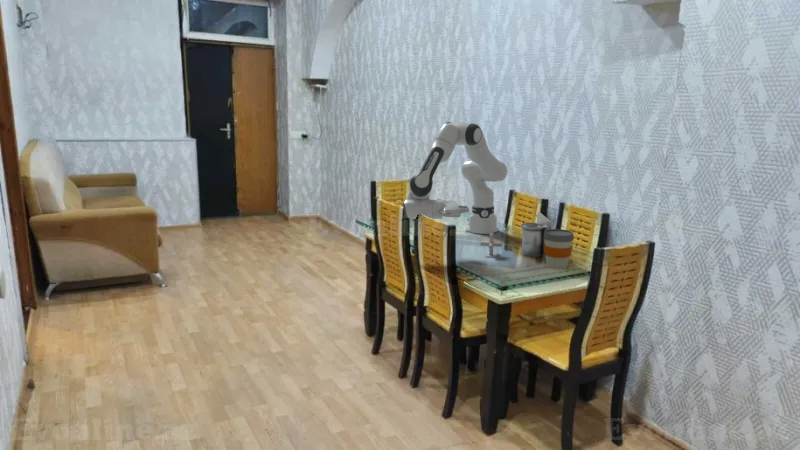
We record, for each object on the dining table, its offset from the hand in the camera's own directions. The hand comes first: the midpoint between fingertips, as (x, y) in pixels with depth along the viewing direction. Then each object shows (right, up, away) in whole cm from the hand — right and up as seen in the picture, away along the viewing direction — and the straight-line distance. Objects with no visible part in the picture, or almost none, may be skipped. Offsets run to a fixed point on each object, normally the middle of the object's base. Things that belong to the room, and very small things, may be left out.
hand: (468, 209), depth 257 cm
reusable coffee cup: (+37, -25, -12) cm, 47 cm away
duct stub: (+30, -21, +5) cm, 37 cm away
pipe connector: (+11, -22, +5) cm, 25 cm away
